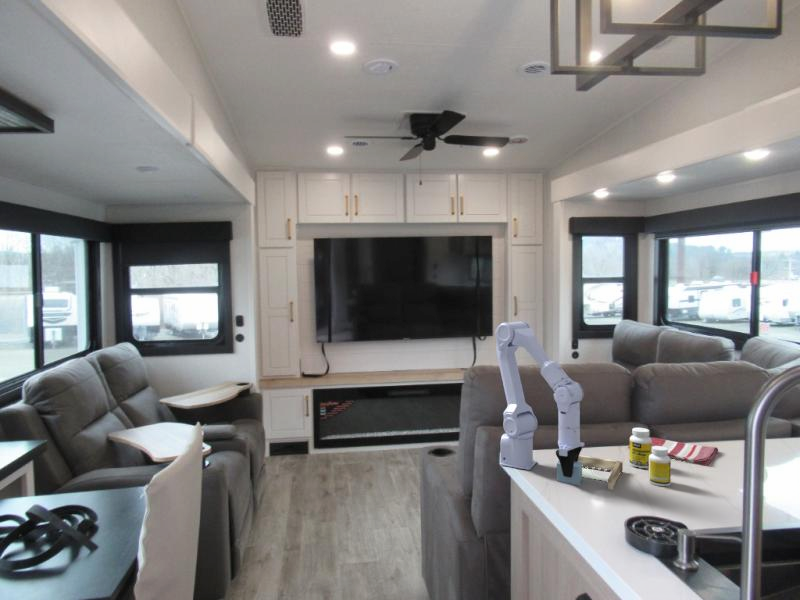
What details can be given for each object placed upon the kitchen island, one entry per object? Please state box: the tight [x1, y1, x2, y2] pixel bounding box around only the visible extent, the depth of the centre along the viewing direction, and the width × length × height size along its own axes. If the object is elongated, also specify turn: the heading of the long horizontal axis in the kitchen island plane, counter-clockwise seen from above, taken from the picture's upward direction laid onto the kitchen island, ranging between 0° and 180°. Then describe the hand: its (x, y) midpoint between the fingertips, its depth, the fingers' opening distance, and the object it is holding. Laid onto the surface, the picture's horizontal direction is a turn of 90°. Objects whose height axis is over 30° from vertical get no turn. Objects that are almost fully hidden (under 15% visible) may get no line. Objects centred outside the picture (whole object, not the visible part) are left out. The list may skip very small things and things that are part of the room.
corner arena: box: [577, 454, 624, 492], centre depth 146 cm, size 15×16×3 cm
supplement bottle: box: [648, 446, 672, 487], centre depth 141 cm, size 5×5×10 cm
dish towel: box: [627, 436, 719, 467], centre depth 166 cm, size 17×23×3 cm
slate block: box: [556, 460, 583, 486], centre depth 144 cm, size 6×4×5 cm, turn 59°
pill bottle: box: [629, 427, 652, 469], centre depth 154 cm, size 6×6×11 cm
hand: (569, 473), depth 144 cm, fingers closed on slate block, 4 cm apart
